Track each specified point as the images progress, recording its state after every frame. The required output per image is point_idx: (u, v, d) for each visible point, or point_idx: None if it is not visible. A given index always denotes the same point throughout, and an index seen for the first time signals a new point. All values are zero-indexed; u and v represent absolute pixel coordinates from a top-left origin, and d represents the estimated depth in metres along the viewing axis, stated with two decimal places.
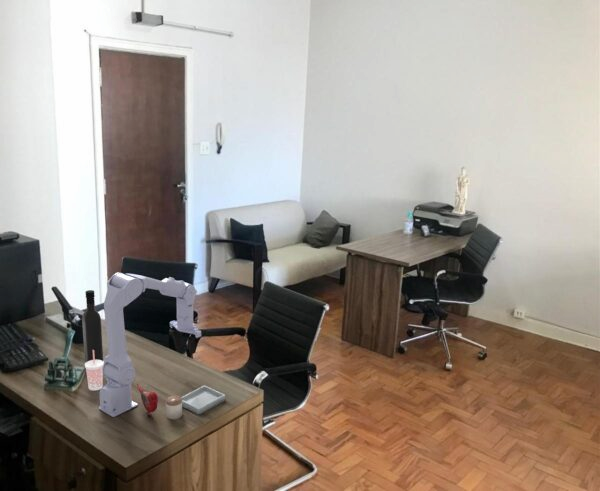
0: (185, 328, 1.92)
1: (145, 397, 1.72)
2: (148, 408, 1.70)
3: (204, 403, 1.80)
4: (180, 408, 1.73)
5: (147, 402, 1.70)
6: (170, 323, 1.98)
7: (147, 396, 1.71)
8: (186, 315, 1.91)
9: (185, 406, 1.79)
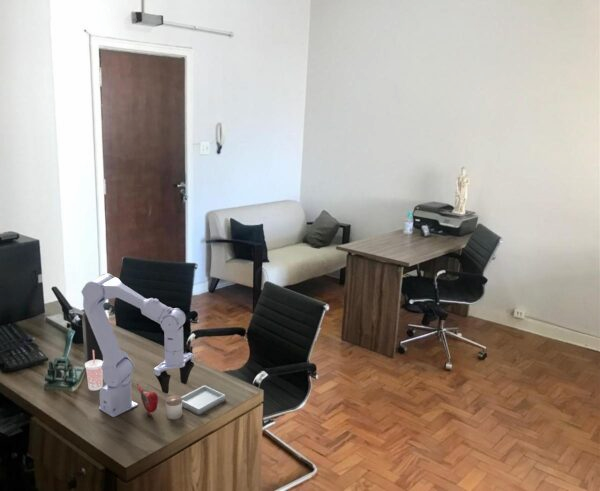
0: None
1: (145, 397, 1.72)
2: (148, 408, 1.70)
3: (204, 403, 1.80)
4: (180, 408, 1.73)
5: (147, 402, 1.70)
6: None
7: (147, 396, 1.71)
8: (166, 348, 1.67)
9: (185, 406, 1.79)
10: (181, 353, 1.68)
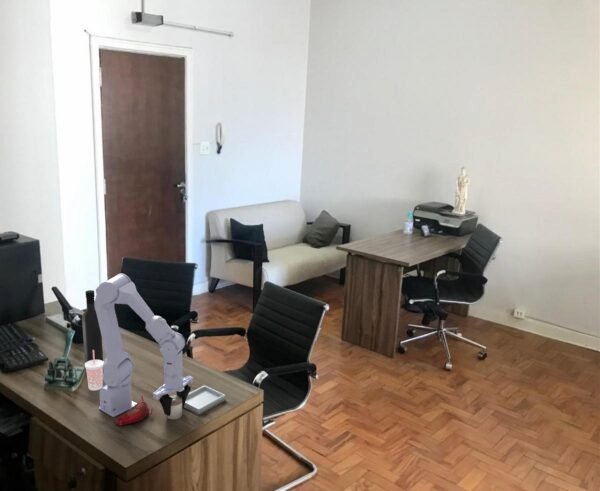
0: (164, 384, 1.71)
1: None
2: None
3: (204, 403, 1.80)
4: (180, 408, 1.73)
5: None
6: None
7: None
8: (165, 372, 1.69)
9: (185, 406, 1.79)
10: (180, 377, 1.70)
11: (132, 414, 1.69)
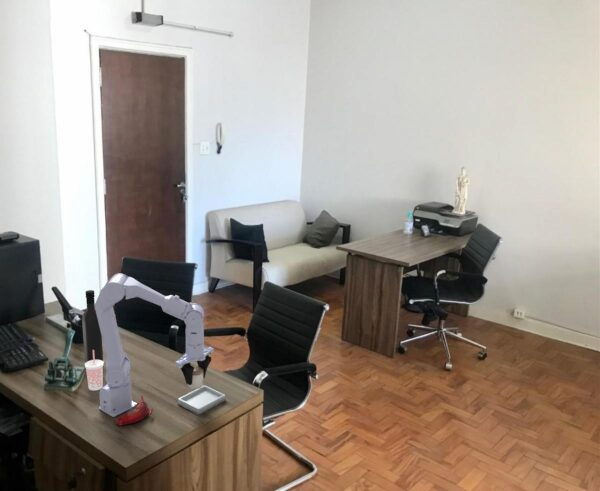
0: (186, 354, 1.75)
1: None
2: None
3: (204, 403, 1.80)
4: (201, 378, 1.77)
5: None
6: None
7: None
8: (189, 342, 1.72)
9: (185, 406, 1.79)
10: (202, 347, 1.74)
11: (132, 414, 1.69)
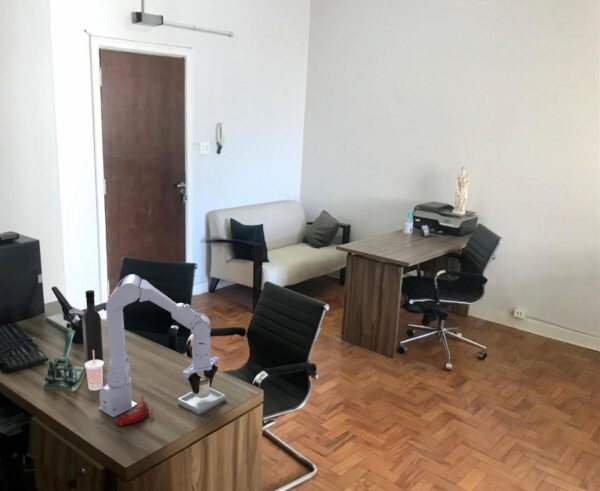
0: None
1: None
2: None
3: (204, 403, 1.80)
4: (208, 387, 1.80)
5: None
6: (214, 357, 1.85)
7: None
8: (196, 352, 1.75)
9: (185, 406, 1.79)
10: (208, 357, 1.77)
11: (132, 414, 1.69)
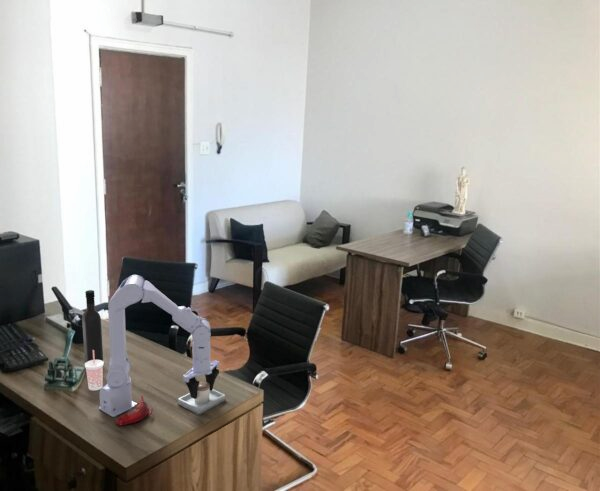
0: None
1: None
2: None
3: None
4: (207, 393, 1.80)
5: None
6: (214, 361, 1.85)
7: None
8: (196, 357, 1.76)
9: (185, 406, 1.79)
10: (208, 361, 1.77)
11: (132, 414, 1.69)
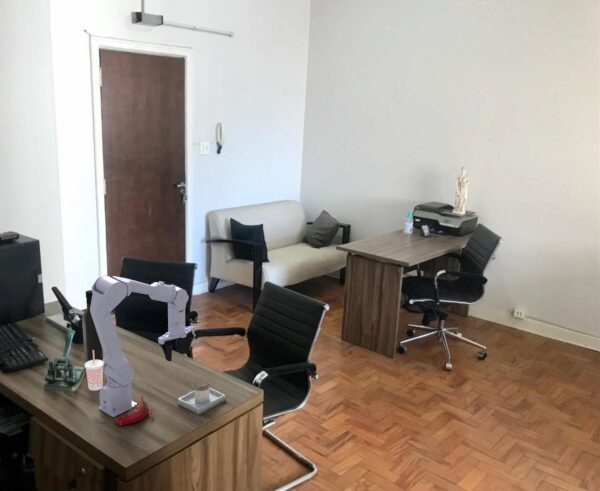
0: (168, 331, 1.89)
1: None
2: None
3: None
4: (207, 393, 1.80)
5: None
6: None
7: None
8: (177, 321, 1.85)
9: (185, 406, 1.79)
10: (183, 325, 1.87)
11: (132, 414, 1.69)
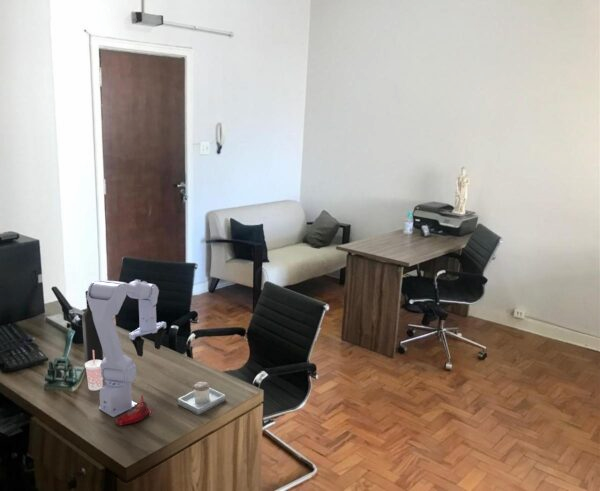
0: (139, 327, 1.91)
1: None
2: None
3: None
4: (207, 393, 1.80)
5: None
6: None
7: None
8: (151, 316, 1.89)
9: (185, 406, 1.79)
10: (154, 320, 1.90)
11: (132, 414, 1.69)
